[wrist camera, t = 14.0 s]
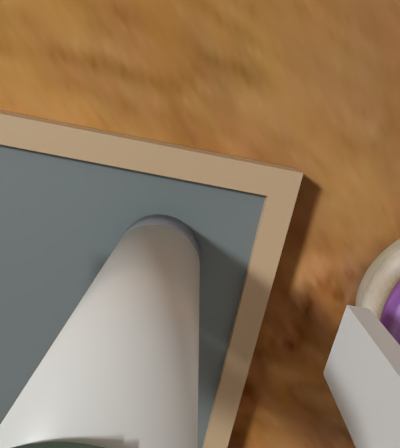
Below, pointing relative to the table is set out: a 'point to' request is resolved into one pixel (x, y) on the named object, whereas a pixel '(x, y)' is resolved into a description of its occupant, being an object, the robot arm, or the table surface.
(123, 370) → the teal and white cylinder
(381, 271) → the stacking toy
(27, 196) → the board
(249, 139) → the table surface
